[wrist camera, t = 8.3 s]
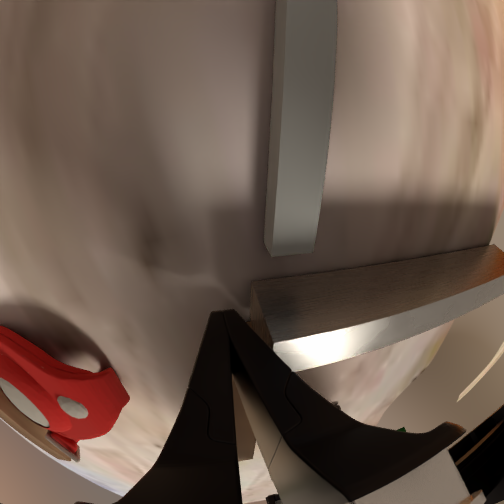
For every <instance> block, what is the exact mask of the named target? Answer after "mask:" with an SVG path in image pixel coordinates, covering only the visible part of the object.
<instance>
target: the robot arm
mask: <svg viewBox="0 0 504 504" xmlns="http://www.w3.org/2000/svg"><path fill="white" fill-rule="evenodd" d="M232 375H233V378H234V381H235V384H236V387H237V390H238V392H239V395H240V398H241V401H242V404H243V406H244V409H245V412H246V415H247V417H248V420H249V423H250V425H251V428H252V431H253V433H254V436H255V438H256V441H257V443H258V446H259V449H260V451H261V454H262V456H263V458H264V461H265V463H266V466H267V468H268V471H269V474H270V477H271V480H272V481H273V483H274V485H275V487H276V489H277V492H278V494H273V495H269V496H268V497H266V501H267V504H495V503H498V502H500V501H502V500H504V404H503V405H502V406H501V407H499V408H498V409H497V410H496V411H495V412H494V413H493V414H491V415H490V416H489V417H488V418H487V419H485V420H484V421H483V422H482V423H481V424H479V425H478V426H477V427H476V428H475V429H473V430H472V431H471V432H469V433H468V434H467V435H466V436H464V437H463V438H462V439H461V440H460V441H458V442H457V443H456V444H455V445H453V446H452V447H451V448H449V449H447V447H448V446H449V445H450V444H452V443H453V442H454V441H456V440H457V439H458V438H459V437H461V436H462V435H463V434H464V433H465V432H466V429H464V428H463V427H462V426H460V425H458V424H454V423H451V422H447V421H446V422H444V423H442V424H441V425H439V426H438V427H436V428H435V429H433V430H431V431H429V432H426V433H408V432H402V431H396V430H390V429H386V428H381V427H376V426H371V425H367V424H364V423H361V422H359V421H357V420H355V419H353V418H351V417H350V416H348V415H347V414H345V413H344V412H343V411H341V408H340V406H339V405H337V406H334V405H333V404H331V403H330V402H329V401H327V400H326V399H325V398H323V397H322V396H321V395H319V394H318V393H317V392H316V391H314V390H313V389H312V388H311V387H310V386H308V385H307V384H306V383H305V382H304V381H303V380H302V379H301V378H300V377H299V376H298V375H297V374H296V373H295V372H294V371H292V369H291V368H290V367H289V366H288V365H287V364H286V363H285V362H284V361H283V360H282V359H281V358H280V357H279V356H278V355H277V354H276V353H275V352H274V351H273V350H272V349H271V348H270V347H269V346H268V345H267V344H266V343H265V342H264V341H263V340H262V339H261V337H260V336H259V335H258V334H257V333H256V332H255V331H254V330H253V329H252V328H251V327H250V326H249V325H248V324H247V323H246V322H245V320H244V319H243V318H242V317H241V316H240V315H239V314H238V313H237V312H236V311H235V310H234V309H227V310H223V311H222V310H219V311H212V312H211V313H210V316H209V320H208V323H207V326H206V329H205V332H204V336H203V339H202V342H201V345H200V348H199V352H198V355H197V358H196V362H195V365H194V368H193V371H192V375H191V378H190V381H189V385H188V388H187V391H186V394H185V398H184V401H183V404H182V407H181V410H180V412H179V414H178V417H177V419H176V422H175V424H174V426H173V428H172V430H171V432H170V434H169V437H168V439H167V441H166V443H165V445H164V447H163V449H162V452H161V453H160V455H159V457H158V459H157V461H156V462H155V464H154V465H153V467H152V468H151V469H150V470H149V471H148V472H147V473H146V474H145V475H144V476H143V477H142V478H141V479H140V480H139V482H138V483H137V484H136V485H135V486H134V487H133V488H132V489H131V490H130V491H129V492H128V493H127V494H126V495H125V496H124V497H122V499H120V500H119V501H118V502H115V503H113V504H242V495H241V485H240V475H239V465H238V453H237V441H236V428H235V414H234V400H233V384H232ZM0 504H1V503H0ZM74 504H92V503H86V502H75V503H74Z"/></svg>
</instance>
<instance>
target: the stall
mask: <svg viewBox="0 0 504 504" xmlns="http://www.w3.org/2000/svg"><path fill="white" fill-rule="evenodd" d="M246 323H247V324H248V325H249V326H250V327H251V328H252V329H253V327H252V324H251V321H248V322H246ZM232 384H233V400H234V414H235V428H236V441H237V453H238V461H243V460H249V459H253V454H254V449H255V443H256V438H255V436H254V433H253V431H252V428H251V425H250V423H249V420H248V417H247V415H246V412H245V409H244V406H243V404H242V401H241V398H240V395H239V392H238V390H237V387H236V384H235V381H234V378H233V375H232ZM0 417H1V418H2V419H3V420H4V421H5V422H7V423H8V424H9V425H10V426H11V427H13V428H14V429H15V430H17V431H18V432H19V433H20V434H22V435H23V436H24V437H26V438H27V439H29V440H30V441H31V442H33V443H34V444H36V445H37V446H39V447H40V448H42V449H43V450H45V451H46V452H48V453H49V454H51V455H52V456H54V457H56V458H57V459H61V460H66V461H71V458H70V457H69V456H67V455H66V454H65V453H63V452H62V451H61V450H59V449H58V448H57V447H55V446H54V445H53V444H52V443H50V442H49V441H48V440H47V439H46V438H45V435H46V433H47V431H48V429H45V428H43V427H41V426H39V425H37V424H35V423H34V422H32V421H31V420H30V419H28V418H27V417H26V416H24V415H23V414H22V413H21V412H20V411H19V410H18V409H17V408H16V407H15V406H14V405H13V404H12V403H11V402H10V401H9V400H8V399H7V397H6V396H5V395H4V393H3V392H2V390H1V389H0Z"/></svg>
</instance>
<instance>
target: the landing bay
mask: <svg viewBox="0 0 504 504" xmlns="http://www.w3.org/2000/svg"><path fill="white" fill-rule="evenodd" d="M336 44H337V0H276V8H275V35H274V58H273V81H272V101H271V121H270V140H269V158H268V176H267V193H266V209H265V225H264V241H263V242H264V244H265V246H266V248H267V250H268V251H269V253H270V255H271V257H277V256H287V255H297V254H306V253H313V251H314V245H315V239H316V233H317V227H318V221H319V215H320V208H321V201H322V194H323V187H324V180H325V172H326V164H327V156H328V148H329V138H330V129H331V119H332V108H333V95H334V82H335V65H336Z"/></svg>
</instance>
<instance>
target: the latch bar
mask: <svg viewBox="0 0 504 504" xmlns="http://www.w3.org/2000/svg"><path fill="white" fill-rule="evenodd" d="M502 294H504V252H503V251H502V250H501V249H499V248H498V247H497V246H496V245H494V244H493V245H488V246H483V247H478V248H472V249H467V250H462V251H456V252H451V253H445V254H439V255H433V256H428V257H422V258H416V259H410V260H404V261H397V262H391V263H385V264H378V265H372V266H365V267H358V268H351V269H344V270H337V271H330V272H323V273H315V274H308V275H300V276H293V277H285V278H277V279H268V280H260V281H251V301H250V321H251V324H252V327H253V330H254V331H255V332H256V333H257V334H258V335H259V336H260V337H261V339H262V340H263V341H264V342H265V343H266V344H267V345H268V346H269V347H270V348H271V349H272V350H273V351H274V352H275V353H276V354H277V355H278V356H279V357H280V358H281V359H282V360H283V361H284V362H285V363H286V364H287V365H288V366H289V367H290V368H291V369H292V371H294V372H297V371H302V370H306V369H310V368H314V367H318V366H322V365H326V364H330V363H334V362H337V361H341V360H344V359H348V358H351V357H355V356H358V355H361V354H364V353H367V352H371V351H374V350H377V349H380V348H383V347H386V346H388V345H391V344H394V343H397V342H400V341H402V340H405V339H408V338H410V337H413V336H415V335H418V334H421V333H423V332H425V331H428V330H430V329H433V328H435V327H437V326H440V325H442V324H444V323H447V322H449V321H451V320H453V319H455V318H458V317H460V316H462V315H464V314H466V313H468V312H470V311H472V310H474V309H476V308H478V307H480V306H482V305H484V304H486V303H487V302H490V301H491V300H493V299H495V298H497V297H499V296H500V295H502Z"/></svg>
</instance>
